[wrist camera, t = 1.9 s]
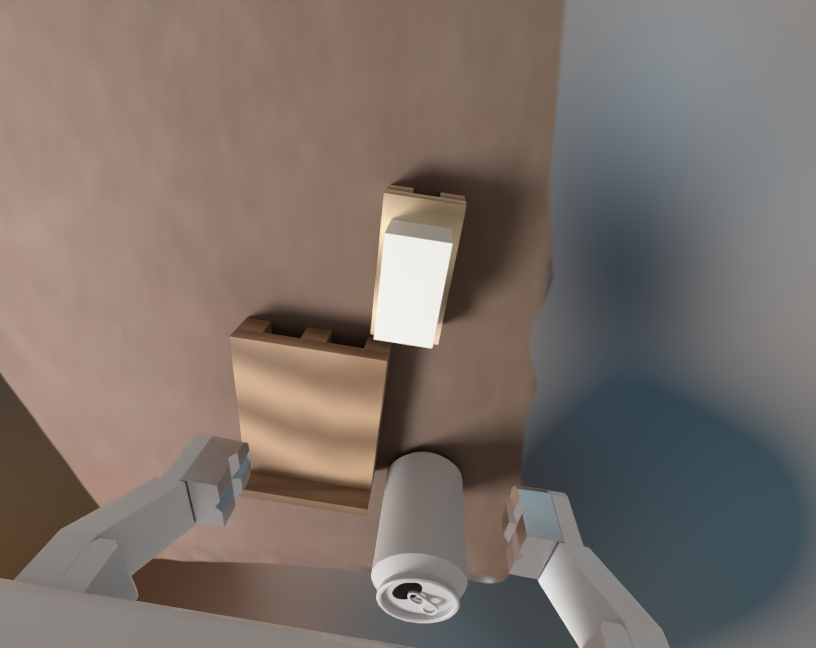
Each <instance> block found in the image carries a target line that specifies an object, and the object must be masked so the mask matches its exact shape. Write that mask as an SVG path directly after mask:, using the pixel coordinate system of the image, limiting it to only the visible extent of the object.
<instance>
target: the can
mask: <svg viewBox="0 0 816 648" xmlns="http://www.w3.org/2000/svg"><path fill="white" fill-rule="evenodd" d="M371 578H372V581H373V583H374V586H375V587H376V589H377V596H376V599H377V602H378V604H379V606H380V607H381V608H382V609H383V610H384V611H385V612H386V613H388V614H390V615H391V616H393V617H395V618H398V619H401V620H404V621H408V622H415V623H434V622H440V621H443V620H445V619H448V618H450V617H451V616H453V615H454V614H455V613H456V612H457V611H458V608H459V606H460V603H459V598H460V597H461V595H463V593H464V592H465V589H466V587H467V568H466V546H465V525H464V504H463V483H462V476H461V473H460V471H459V470H458V468H457V466H456V465H454V464H453V463H452V462H450V461H449V460H448V459H446V458H444V457H443V456H440V455H438V454H435V453H431V452H425V451H424V452H414V453H411V454H407V455H406V456H402V457H400V458H399V459H397V460H396V461H394V462H393V463H392V465H391V466H390V467H389V469H388V473H387V479H386V485H385V491H384V498H383V504H382V510H381V517H380V523H379V530H378V536H377V542H376V549H375V555H374V561H373V568H372V574H371Z"/></svg>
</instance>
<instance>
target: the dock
mask: <svg viewBox="0 0 816 648" xmlns="http://www.w3.org/2000/svg"><path fill="white" fill-rule="evenodd" d="M331 336H332V331H331V330H324V329H318V328H312V327H307V329H306V330H305V332H304V333H303V335H302V337H301V338H295V337H289V336H282V335H276V334H272V323H271V321H267V320H261V319H254V318H248V317H247V318H246V319H245V320H244V321H243V323H242V324H241V325H240V326H239V327H238V328H237V329H236V330H235V331H234V332H233V333H232V334H231V335H230V345H231V353H232V362H233V370H234V379H235V387H236V396H237V404H238V413H239V421H240V430H241V438H242V442H246V443H248V445H249V452H248V454H247V456H246V457H247V458H248V459H249V460H250V461H251V471H250V476H249V479H248V482H247V485H246V487H245V489H244V491H243V493H241V494H240V495H238V496H243V497H249V498H256V499H262V500H268V501H274V502H280V503H287V504H293V505H299V506H305V507H311V508H318V509H324V510H330V511H336V512H342V513H349V514H355V515H361V516H366V514H367V509H368V504H369V499H370V494H371V489H372V483H373V478H374V473H375V466H376V459H377V451H378V444H379V436H380V428H381V421H382V413H383V406H384V398H385V390H386V383H387V375H388V368H389V360H390V353H391V345H392V342H386V341H380V340H374V337H369V336H368V338H367V341H366V344H365V347H364V348H358V347H352V346H346V345H339V344H333V343H331Z"/></svg>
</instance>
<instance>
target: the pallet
mask: <svg viewBox="0 0 816 648" xmlns="http://www.w3.org/2000/svg"><path fill="white" fill-rule="evenodd" d="M413 190H414V188H408V187H402V186H395V185H389V187H388V188H387V189H386V191H385V192H384V198H383V209H382V219H381V229H380V239H379V250H378V260H377V270H376V281H375V291H374V301H373V311H372V322H371V332H370V334H374V331H375V321H376V311H377V302H378V292H379V282H380V272H381V263H382V253H383V243H384V234H385V231H386V229H387V227H388V225H389V223H390V221H391V219H393V220H400V221H406V222H413V223H419V224H426V225H432V226H439V227H445V228H452V238H453V245H452V250H451V255H450V260H449V266H448V271H447V276H446V281H445V286H444V291H443V296H442V301H441V306H440V311H439V317H438V322H437V327H436V332H435V337H434V342H433V344H438V343H439V338H440V333H441V328H442V323H443V319H444V314H445V309H446V304H447V299H448V294H449V289H450V284H451V279H452V275H453V270H454V265H455V260H456V255H457V250H458V245H459V240H460V235H461V230H462V226H463V221H464V216H465V211H466V206H467V205H466V201H465V196H460V195H454V194H447V193H440V197H434V196H428V195H422V194H415V193H413Z"/></svg>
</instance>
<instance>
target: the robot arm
mask: <svg viewBox="0 0 816 648" xmlns="http://www.w3.org/2000/svg"><path fill="white" fill-rule="evenodd" d="M248 452H249V445H248V443H246V442H241V441H236V440H230V439H225V438H220V437H214V436H208V435H203V434H197V435H195V436H194V437H193V438H192V439H191V440H190V441H189V443H188V444H187V445H186V446H185V448H184V449H183V450H182V452H181V453H180V454H179V455H178V457H177V458H176V459H175V461H174V462H173V463H172V464H171V466H170V467H169V468H168V470H167V471H166V472H165V473H164V475H163V476H162V477H161V478H160V477H155V478H153V479H152V480H150V481H148V482H146V483H144V484H143V485H141V486H139V487H137V488H135V489H133V490H132V491H130V492H128V493H126V494H124V495H122V496H121V497H119V498H117V499H115V500H113V501H112V502H110V503H108V504H106V505H104V506H102V507H101V508H99V509H97V510H95V511H93V512H91V513H90V514H88V515H86V516H84V517H82V518H81V519H79V520H77V521H75V522H73V523H71V524H70V525H68V526H66V527H64V528H62V529H61V530H60V531H59V532H58V533H57V534H56V535H55V536H54V537H53V538H52V539H51V540H50V541H49V543H48V544H47V545H46V546H45V547H44V548H43V549H42V550H41V551H40V552H39V554H37V556H36V557H35V558H34V559H33V560H32V561H31V562H30V563H29V564H28V565H27V566H26V567H25V569H24V570H23V571H22V572H21V573H20V574H19V575H18V576H17V577H16V578H15V579H14V581H12V580H7V579H1V578H0V648H415V647H408V646H402V645H397V644H390V643H384V642H379V641H373V640H367V639H360V638H355V637H348V636H343V635H337V634H331V633H325V632H319V631H312V630H306V629H301V628H295V627H289V626H283V625H277V624H271V623H265V622H259V621H253V620H247V619H241V618H235V617H229V616H223V615H217V614H211V613H205V612H199V611H193V610H187V609H181V608H175V607H169V606H163V605H157V604H151V603H145V602H139V601H136V599H137V598H138V592H137V589H136V586H135V584H134V582H133V579H132V577H131V575H132V574H134V573H135V572H136V571H137V570H138V569H140V568H141V567H142V566H144V565H145V564H146V563H148V562H149V561H150V560H151V559H153V558H154V557H155V556H156V555H158V554H159V553H160V552H161V551H163V550H164V549H165V548H166V547H168V546H169V545H170V544H171V543H173V542H174V541H175V540H176V539H178V538H179V537H180V536H181V535H183V534H184V533H185V532H187V531H188V530H189V529H190V528H192V527H193V526H194V525H195V523H199V524H207V525H214V526H221V527H224V526H225V525H226V523H227V521H228V519H229V517H230V515H231V513H232V512H233V510H234V508H235V499H234V498H235V497H237V496H238V495H240V494H241V493H243V491H244V489H245V487H246V485H247V482H248V479H249V476H250V471H251V461H250V460H249V459H248V458H247V457H246V456H247V454H248ZM510 496H511V500H510V501H508V502H506V505H505V507H504V511H503V519H502V522H503V534H504V536H505V538H506V539H507V540H508V542H509V544H508V546H507V548H506V556H507V563H508V570H509V574H513V575H518V576H524V577H529V578H534V579H539V580H538V581H539V583H540V585H541V587H542V588H543V590H544V591H545V593H546V594H547V596H548V598H549V599H550V601H551V602H552V604H553V606H554V607H555V609H556V610H557V612H558V614H559V615H560V617H561V619H562V620H563V622H564V623H565V625H566V627H567V628H568V630H569V631H570V633H571V634H572V636H573V637H574V639H575V641H576V642H577V644H578V646H579V647H580V648H669V645H668V643H667V641H666V638H665V636H664V633H663V631H662V629H661V628H660V627H659V626H658V625H657V623H656V622H655V621H654V620H653V619H652V618H651V617H650V616H649V614H648V613H647V612H646V611H645V610H644V609H643V608H642V607H641V606H640V604H639V603H638V602H637V601H636V600H635V599H634V598H633V597H632V595H630V593H629V592H628V591H627V590H626V589H625V588H624V587H623V585H622V584H621V583H620V582H619V581H618V580H617V579H616V578H615V576H614V575H613V574H612V573H611V572H610V571H609V570H608V569H607V568H606V566H605V565H604V564H603V563H602V562H601V561H600V560H599V559H598V558H597V556H596V555H595V554H594V553H593V552H592V551H591V550H590V549H589V548H588V547H584V546H583V543H582V540H581V537H580V534H579V531H578V528H577V525H576V522H575V518H574V515H573V512H572V509H571V506H570V503H569V500H568V497H567V496H566V494H565V493H560V492H553V491H547V490H543V489H536V488H530V487H523V486H516V485H515V486H514V487H512V490H511V492H510Z"/></svg>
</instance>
